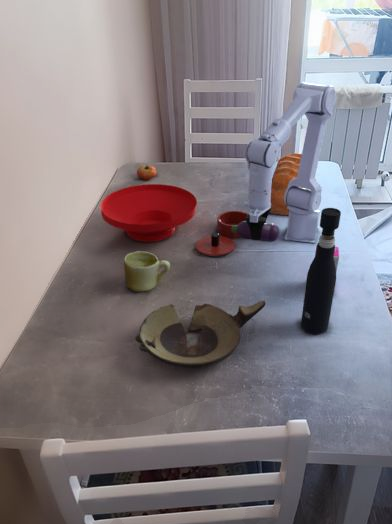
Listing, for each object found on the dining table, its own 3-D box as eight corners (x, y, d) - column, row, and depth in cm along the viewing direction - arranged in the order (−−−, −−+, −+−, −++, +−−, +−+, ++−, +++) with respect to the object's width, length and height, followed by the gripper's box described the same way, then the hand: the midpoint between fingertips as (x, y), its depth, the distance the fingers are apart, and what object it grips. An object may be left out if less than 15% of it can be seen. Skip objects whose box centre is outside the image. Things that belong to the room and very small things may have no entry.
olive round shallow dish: (142, 318, 121) (139, 293, 117) (261, 315, 121) (263, 289, 116) (133, 381, 104) (129, 355, 99) (273, 378, 103) (275, 351, 98)
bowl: (87, 244, 153) (81, 215, 146) (132, 205, 175) (129, 178, 169) (174, 260, 143) (172, 230, 137) (210, 217, 165) (210, 189, 159)
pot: (254, 224, 160) (255, 212, 157) (247, 240, 151) (247, 227, 149) (222, 221, 162) (222, 209, 160) (213, 236, 154) (213, 223, 152)
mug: (114, 288, 129) (120, 253, 125) (126, 279, 138) (133, 245, 134) (157, 301, 127) (165, 266, 124) (167, 291, 137) (174, 257, 133)
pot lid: (238, 240, 151) (239, 228, 149) (229, 260, 142) (229, 246, 140) (202, 236, 154) (201, 223, 152) (190, 255, 145) (190, 241, 143)
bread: (314, 182, 186) (318, 148, 178) (307, 217, 162) (312, 180, 154) (273, 179, 190) (276, 145, 182) (261, 213, 166) (263, 177, 158)
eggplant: (280, 237, 134) (281, 221, 131) (277, 246, 130) (278, 229, 127) (234, 232, 138) (234, 216, 135) (229, 240, 134) (230, 224, 131)
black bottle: (329, 320, 118) (348, 206, 100) (326, 336, 113) (345, 220, 95) (303, 316, 120) (317, 203, 102) (298, 331, 115) (313, 216, 97)
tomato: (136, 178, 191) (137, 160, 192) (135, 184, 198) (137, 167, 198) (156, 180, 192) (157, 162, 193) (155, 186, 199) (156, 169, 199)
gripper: (250, 176, 131) (249, 221, 139) (238, 197, 120) (237, 245, 129) (276, 178, 129) (273, 224, 138) (266, 200, 118) (263, 248, 127)
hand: (257, 234), depth 133 cm, fingers closed on eggplant, 5 cm apart
